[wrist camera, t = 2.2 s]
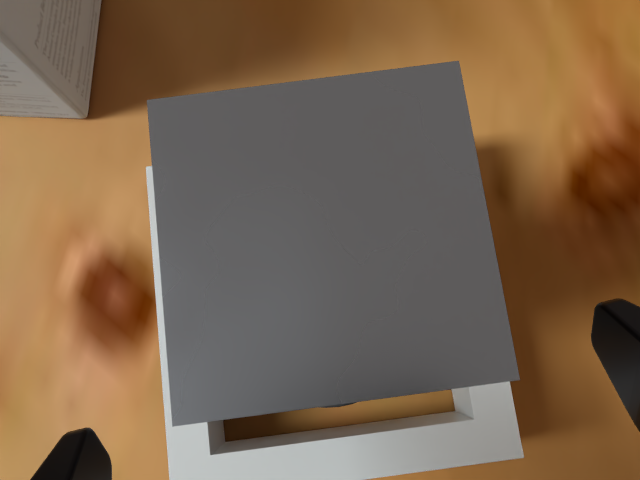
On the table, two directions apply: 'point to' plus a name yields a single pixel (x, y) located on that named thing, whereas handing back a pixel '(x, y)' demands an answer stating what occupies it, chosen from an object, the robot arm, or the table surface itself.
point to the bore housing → (341, 433)
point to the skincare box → (47, 57)
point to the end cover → (324, 244)
